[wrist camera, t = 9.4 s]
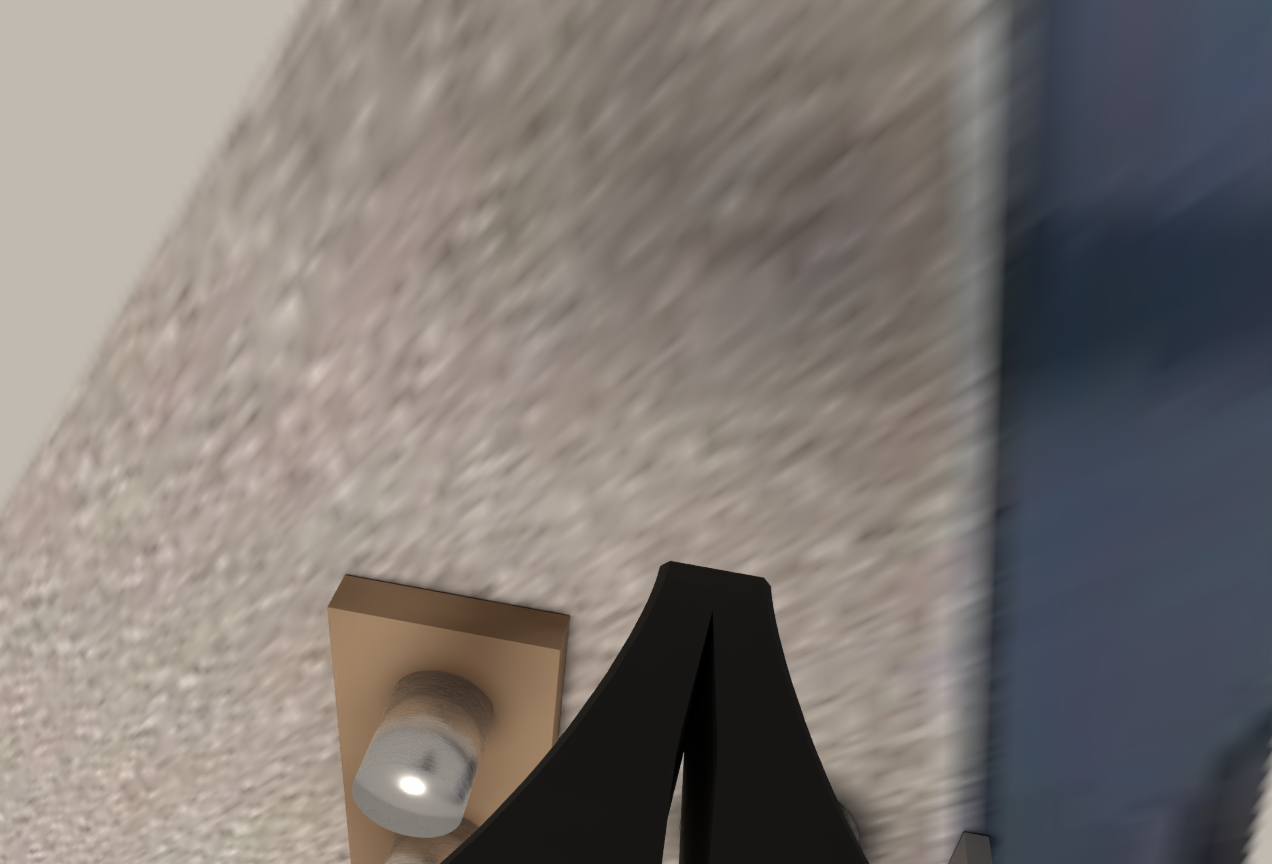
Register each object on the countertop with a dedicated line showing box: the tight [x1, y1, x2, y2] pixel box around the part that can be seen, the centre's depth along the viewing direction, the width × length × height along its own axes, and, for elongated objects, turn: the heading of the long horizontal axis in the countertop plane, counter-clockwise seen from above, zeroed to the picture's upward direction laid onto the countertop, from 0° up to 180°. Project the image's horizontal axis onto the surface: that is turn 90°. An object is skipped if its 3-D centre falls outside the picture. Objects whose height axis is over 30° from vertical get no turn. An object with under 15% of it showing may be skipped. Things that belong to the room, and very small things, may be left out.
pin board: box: [328, 575, 570, 864], centre depth 29 cm, size 6×12×4 cm, turn 174°
